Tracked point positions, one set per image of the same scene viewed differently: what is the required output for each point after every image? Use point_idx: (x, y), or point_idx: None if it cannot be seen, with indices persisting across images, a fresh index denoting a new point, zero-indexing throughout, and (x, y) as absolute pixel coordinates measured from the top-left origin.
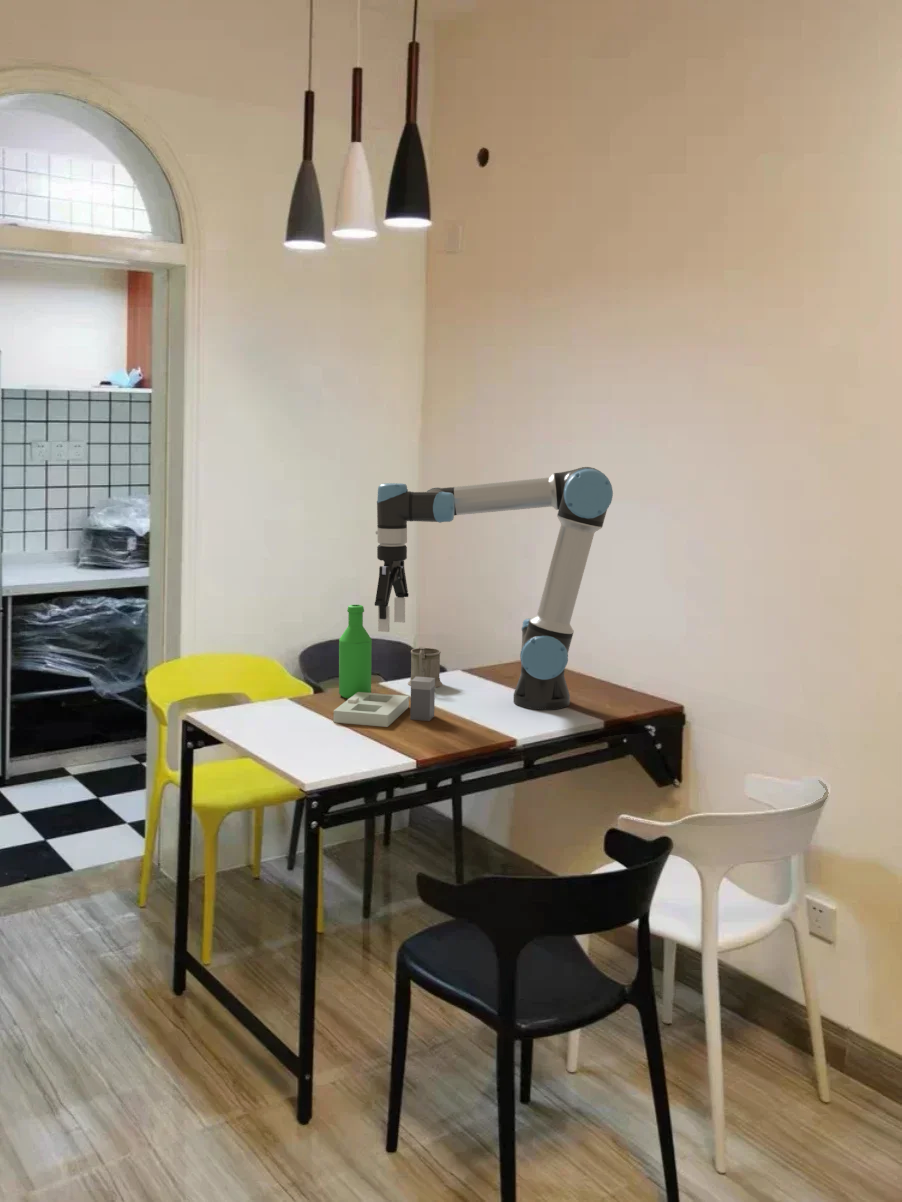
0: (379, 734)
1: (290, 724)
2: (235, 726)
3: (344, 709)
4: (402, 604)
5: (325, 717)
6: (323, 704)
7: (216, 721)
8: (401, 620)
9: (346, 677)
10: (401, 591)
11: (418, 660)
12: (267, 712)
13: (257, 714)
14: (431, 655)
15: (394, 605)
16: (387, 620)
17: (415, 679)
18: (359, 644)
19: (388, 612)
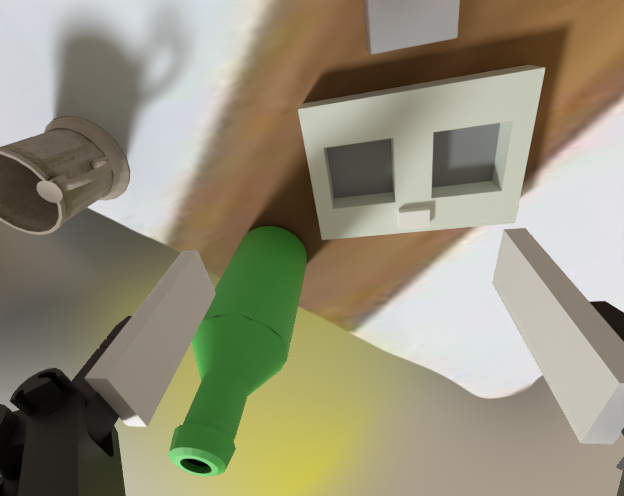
0: (618, 49)
1: None
2: None
3: (498, 204)
4: (145, 341)
5: (463, 238)
6: (363, 276)
7: (531, 366)
8: (198, 269)
9: (301, 286)
10: (89, 457)
11: (73, 192)
12: (453, 330)
13: (471, 337)
14: (31, 162)
15: (174, 370)
16: (564, 283)
17: (427, 29)
18: (273, 326)
19: (611, 328)
